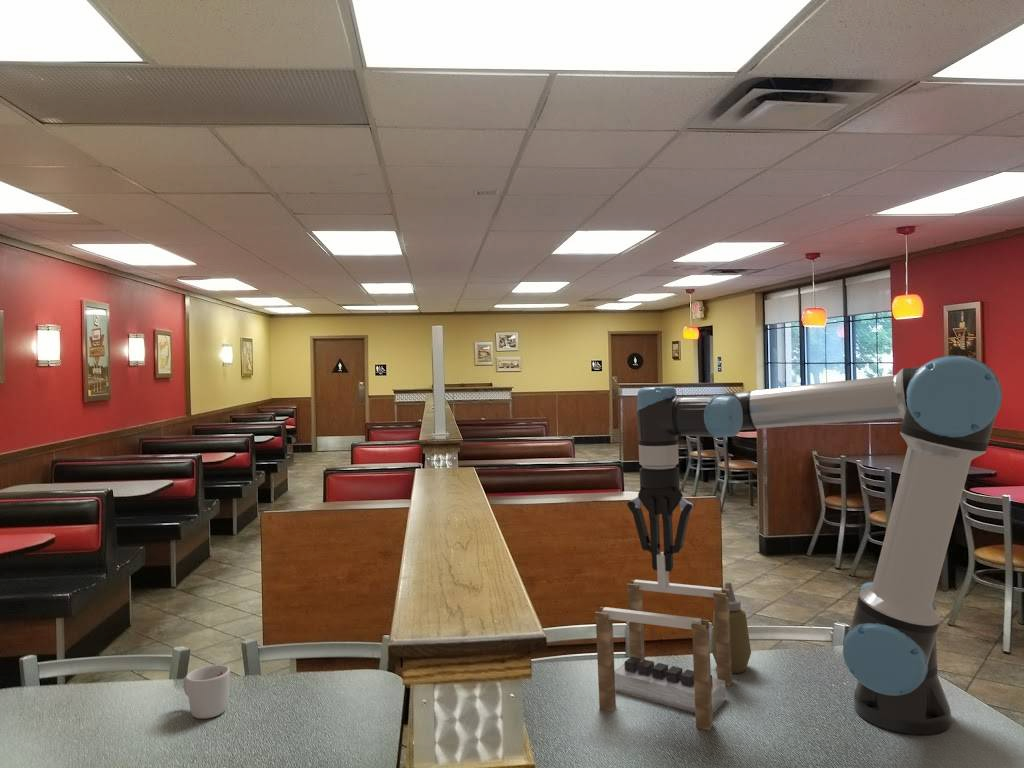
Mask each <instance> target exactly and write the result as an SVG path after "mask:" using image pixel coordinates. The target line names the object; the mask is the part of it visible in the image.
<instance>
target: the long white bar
mask: <svg viewBox="0 0 1024 768" xmlns="http://www.w3.org/2000/svg"><path fill="white" fill-rule="evenodd" d="M602 612H603V613H608V619H612V621H613V620H614V621H622V622H628V623H629V622H636V623H643V625H644V624H646V625H653V626H661V627H667V628H676V629H683V630H684V629H685V630H691V624H700V625H701V619H702V618H701V617H699V618H698V617H691V616H682V615H674V614H666V613H657V612H650V611H649V612H648V611H643V612H642V611H634V610H628V609H623V608H617V607H616V608H615V607H607V606H605V608H604V609H603V610H602Z"/></svg>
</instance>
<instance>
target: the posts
mask: <svg viewBox="0 0 1024 768" xmlns="http://www.w3.org/2000/svg"><path fill="white" fill-rule="evenodd" d="M635 580H636V579H631V580H630V583H626V590H627V610H634V611H642V612H644V605H643V590H639V586H638V584H633V581H635ZM713 595H714V598H713V602H714V604H713V605H714V610H715V633H716V658H717V665H716V679H720V680H724V681H725V686H731V684H732V682H733V675H732V674H733V673H732V667H731V642H730V616H729V589H724V588H722V593H717V592H714V593H713ZM605 607H606V606H605ZM605 607H604V606H600V607H599V611H595V612H594V620H595V630H596V631H595V632H596V652H597V653H596V654H597V655H596V656H597V657H596V658H597V678H598V681H597V682H598V704H599V705H598V707H599V710H601V711H605V712H606V711H607V712H613V711H614V710H615V708H616V706H617V703H616V702H617V701H616V691H615V653H614V651H615V650H614V649H615V648H614V647H615V646H614V629H613V627H614V626H613V625H614V624H613V619H608V613H603V612H602V610H603V609H604V608H605ZM700 619H701V625H700V624H691V629H690V630H691V634H692V637H691V638H692V659H693V660H692V661H693V671H694V689H695V714H694V715H695V728H696V729H701V730H705V731H711V730H712V727H713V724H714V723H713V714H712V694H711V675H712V672H711V670H712V669H711V651H710V650H711V646H710V645H711V643H710V619H704V618H703V619H702V618H700ZM644 631H645V629H644V623H636V622H628V634H629V637H628V638H629V656H630V657H636V658H640V660H641V661H644V660H646V658H645V657H646V656H645V633H644ZM630 657H629V658H630Z"/></svg>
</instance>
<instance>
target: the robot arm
mask: <svg viewBox="0 0 1024 768" xmlns="http://www.w3.org/2000/svg"><path fill="white" fill-rule="evenodd" d="M1002 399H1003V389H1002V386H1001V382H1000V380H999V377H998V376H997V374H996V373H995V371H994V370H993V369H992V368H990V367H989V365H987V364H985V363H984V362H982V361H980V360H978V359H976V358H972V357H969V356H965V355H954V354H951V355H945V356H941V357H937V358H934V359H931V360H930V361H928V362H926V363H925V364H923V365H920V366H914V367H906V368H901V369H899V371H898V372H897V373H896V374H894V375H885V376H876V377H874V376H873V377H867V378H866V377H864V378H858V379H847V380H840V381H829V382H822V383H812V384H811V383H809V384H802V385H795V386H793V385H792V386H786V387H785V386H784V387H776V388H765V389H756V390H749V391H748V390H747V391H734V392H726V393H723V394H714V395H704V396H679V395H678V394H677V390H676V388H675V387H674V386H652V387H651V386H647V387H642V388H640V389H639V390H638V391H637V399H636V400H637V402H636V403H637V404H636V405H637V406H636V411H635V412H636V413H637V432H638V433H637V434H638V462H639V465H640V466H641V467H640V468H639V487H640V489H639V490H638V494H637V496H636V497H635V498H633V499H631V500H629V501H628V502H627V507H628V508H629V510H630V512H631V513H632V516H633V520H634V523H635V527H636V530H637V534H638V538H639V542H640V546H641V550H643V551H647V552H649V553H650V554H651V567H652V570H653V571H656V573H657V582H658V589H666V588H667V587H668V586H669V583H670V573H669V572H672V570H673V569H674V554H677V553H679V552H681V551H682V550H683V546H684V543H685V537H686V534H687V533H686V532H687V528H688V522H689V517H690V514H691V512H692V511H693V509H694V508H695V503H694V502H693V501H688V500H687V499H685V498H684V497H683V493H682V492H681V491H682V490H681V487H680V486H681V485H680V469H679V468H678V466H677V465H678V464H679V439H678V438H679V437H686V436H687V437H709V438H710V437H713V438H714V437H715V438H718V439H720V438H725V437H736V436H737V435H739V433H740V432H741V431H744V430H745V431H746V430H756V429H766V428H767V429H768V428H770V429H771V428H781V427H795V426H796V427H797V426H810V425H821V424H823V425H825V424H835V423H850V422H864V421H878V420H890V419H893V420H894V419H902V424H901V429H900V432H899V434H900V435H901V437H902V438H903V440H904V441H905V443H906V445H907V450H906V453H905V456H904V459H903V460H904V461H903V465H902V468H901V472H900V476H899V479H898V484H897V487H896V492H895V495H894V499H893V503H892V506H891V511H890V516H889V519H888V523H887V527H886V531H885V534H884V535H885V536H884V539H883V542H882V547H881V550H880V554H879V558H878V563H877V565H876V570H875V573H874V578H873V581H871V582H866V583H864V584H862V585H861V587H860V592H859V593H858V597H857V602H856V605H855V609H854V613H853V617H852V621H851V623H850V624H851V625H850V626H849V627H850V628H849V630H848V631H847V632H846V634H845V636H844V639H843V644H842V655H843V659H844V663H845V664H846V667H847V669H848V670H849V672H850V673H851V675H852V676H853V677H854V679H856V681H857V684H856V687H855V690H854V694H853V703H854V704H853V706H854V707H853V709H854V710H855V711H856V712H855V713H857V714H858V716H860V717H861V718H862V719H863V720H866V721H867V722H869V723H871V724H872V725H874V726H876V727H880V728H882V729H884V730H889V731H892V732H897V733H900V734H901V733H902V734H906V735H907V734H908V735H918V736H922V735H924V736H926V735H929V736H930V735H935V734H936V735H937V734H939V733H943V732H945V731H947V730H948V729H950V727H951V726H952V712H951V711H952V710H951V708H950V704H949V701H948V699H947V697H946V694H945V692H944V689H943V686H942V684H941V681H940V679H939V674H938V652H937V651H938V650H937V649H938V648H937V631H938V628H939V624H940V621H941V620H940V615H939V614H938V612H937V611H936V610H937V606H936V601H935V596H936V591H937V588H938V584H939V580H940V576H941V573H942V569H943V567H944V562H945V558H946V554H947V551H948V547H949V544H950V539H951V536H952V532H953V528H954V525H955V521H956V517H957V515H958V510H959V507H960V504H961V503H960V502H961V499H962V495H963V492H964V488H965V486H966V485H965V484H966V481H967V477H968V474H969V469H970V466H971V463H972V461H973V460H974V459H976V458H979V457H980V456H982V455H984V454H986V453H987V450H988V445H989V442H990V439H991V436H992V431H993V428H994V425H995V421H996V417H997V415H998V414H999V412H1000V410H1001V405H1002ZM679 505H680V506H679ZM642 506H644V508H645V509H646V511H648V518H649V531H648V527H647V524H646V520H645V516H644V512H643V509H642ZM678 506H679V510H680V511H681V513H680V515H679V518H678V524H677V528H676V534H675V538H674V533H673V532H674V531H673V530H674V529H673V527H674V526H673V517H674V516H673V515H674V514H673V512H674V511H675V510H676V509H677V507H678ZM660 516H661V519H662V532H663V533H662V535H663V536H662V537H663V551H661V550H662V547H661V530H660V527H661V526H660ZM674 539H675V540H674Z"/></svg>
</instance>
